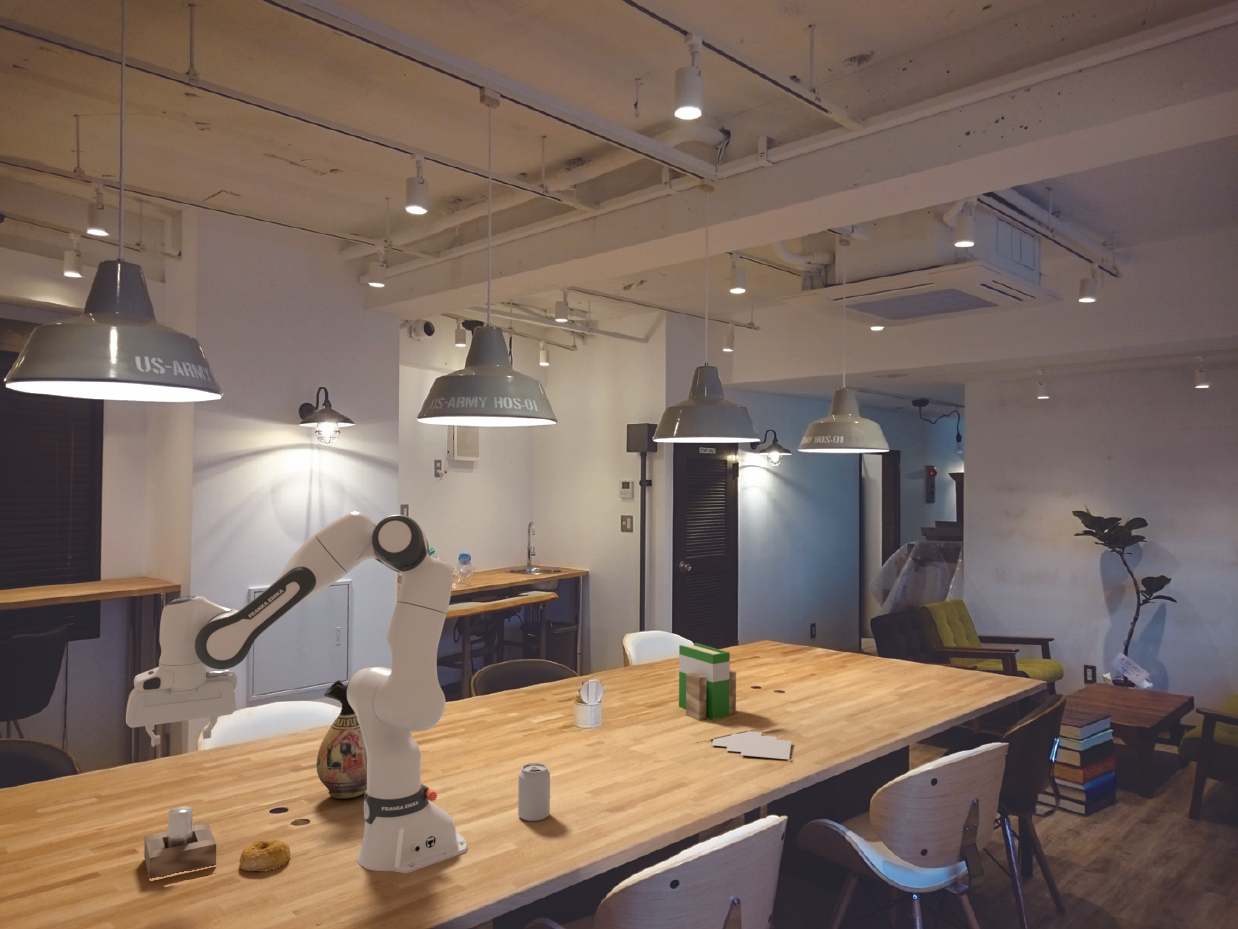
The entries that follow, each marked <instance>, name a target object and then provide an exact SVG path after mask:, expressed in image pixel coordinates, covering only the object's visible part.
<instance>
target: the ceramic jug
mask: <svg viewBox="0 0 1238 929" xmlns="http://www.w3.org/2000/svg"><path fill="white" fill-rule="evenodd" d="M349 682H350V680H349V681H348V683H347V685H345V684H344V683H343V682H342V681H341V680H340V679H339V680H338V679H337V680H336V681H335V682H334V683H333V684H332V685H331V686H330V687H328V689H326V691H325V692H324V695H323V696H324V697H326V698H328V699H329V698H330V699H333V700H336V701H338V702H340V704H341V709H340V712H339V714H338V716H337V717H336V718H335V720H334V721H333V723H332V724H331V726H330V727H329V729H328V731H327V732H326V733H325V735H324V737H323V739H322V741H321V743H320V746H319V750H318V754H317V758H316V772H317V775H318V779H319V780H320V782H321V783H322V785H323V786H324V787H326V788H327V790H328V794H329V796H330V797H332V798H335V799H351V798H355V797H359V796H361V795H363V794H365V791H366V790H367V757H366V749H365V744H364V740H363V736H362V732H361V728H360V725H359V722H358V719H357V716H356V714H355V712H354V710H353V709H352V707H351V706H350V704H349V702H348V700H347V687H348V684H349Z"/></svg>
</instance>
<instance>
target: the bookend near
mask: <svg viewBox="0 0 1238 929" xmlns="http://www.w3.org/2000/svg"><path fill="white" fill-rule="evenodd" d="M706 681H707V677H706V676H703V675H700V674H697V673H694V672H692V673H686V709H685V716H687V717H690V718H692V719H695V720H697V721H703V720H706V719H707V717H706Z"/></svg>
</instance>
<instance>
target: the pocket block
mask: <svg viewBox="0 0 1238 929" xmlns="http://www.w3.org/2000/svg"><path fill="white" fill-rule="evenodd" d="M143 854H144V858H145V860H144V863H145V862H146V865H145V867H146V866H147V870H146V872H147V871H148V874H147V876H148V875H149V879H150V878H151V879H152V878H156V877H164V876H167V875H171V874H174V873H179V872H184V871H192V870H197V869H201V868H205V867H209V866H214V865H216V866H217V842H216V839H215V837H214V835H213V832H212V830H211V827H210V824H209V822H207V823H206V822H205V823H200V824H196V825H192V843H190V844H185V845H180V846H176V847H171V848H168V830H167V831H162V832H155V833H150V834H145V835H144V853H143ZM144 858H143V859H144ZM149 879H148V880H149Z"/></svg>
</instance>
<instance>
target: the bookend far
mask: <svg viewBox="0 0 1238 929" xmlns="http://www.w3.org/2000/svg"><path fill="white" fill-rule="evenodd" d="M736 711H737V671H734V670H731V669H730V676H729V715H733V714H736Z"/></svg>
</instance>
